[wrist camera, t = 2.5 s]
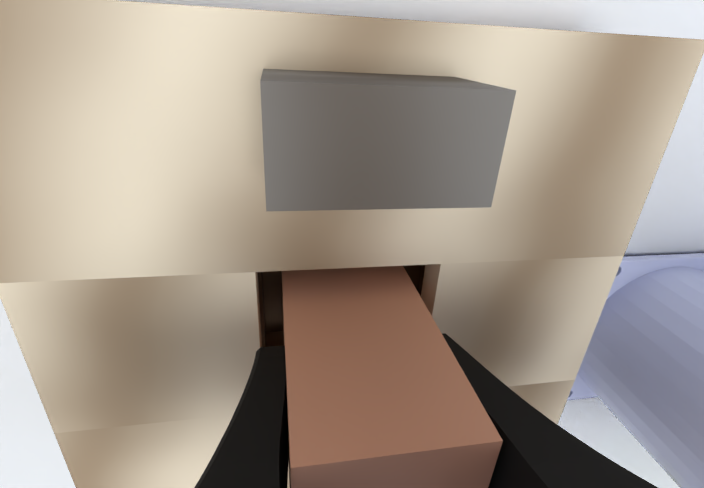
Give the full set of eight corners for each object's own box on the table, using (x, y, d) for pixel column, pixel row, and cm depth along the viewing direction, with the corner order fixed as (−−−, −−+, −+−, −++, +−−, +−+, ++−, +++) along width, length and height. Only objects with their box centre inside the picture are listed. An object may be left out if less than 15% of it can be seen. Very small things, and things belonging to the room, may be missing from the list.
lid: (670, 39, 10) (842, 41, 7) (521, 460, 17) (574, 552, 14) (-78, -10, 7) (-326, -42, 4) (110, 517, 15) (67, 646, 11)
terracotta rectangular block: (382, 229, 14) (502, 441, 7) (374, 311, 16) (466, 556, 8) (280, 231, 14) (290, 468, 6) (282, 317, 15) (293, 588, 8)
